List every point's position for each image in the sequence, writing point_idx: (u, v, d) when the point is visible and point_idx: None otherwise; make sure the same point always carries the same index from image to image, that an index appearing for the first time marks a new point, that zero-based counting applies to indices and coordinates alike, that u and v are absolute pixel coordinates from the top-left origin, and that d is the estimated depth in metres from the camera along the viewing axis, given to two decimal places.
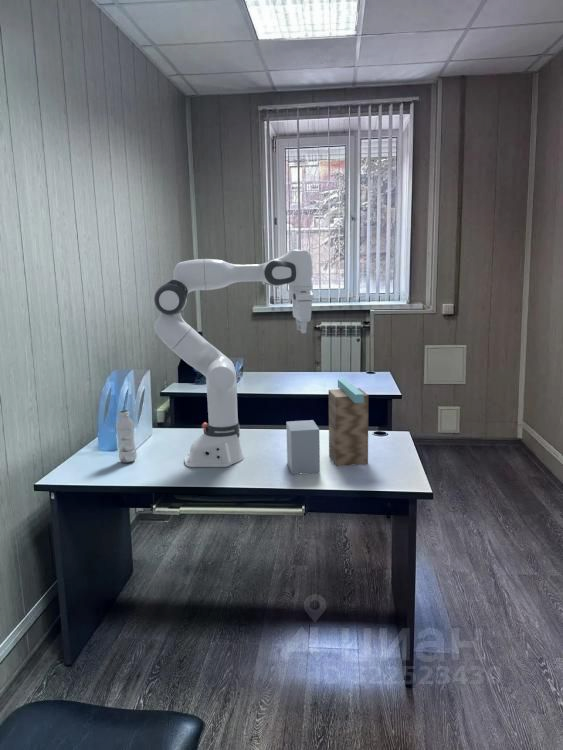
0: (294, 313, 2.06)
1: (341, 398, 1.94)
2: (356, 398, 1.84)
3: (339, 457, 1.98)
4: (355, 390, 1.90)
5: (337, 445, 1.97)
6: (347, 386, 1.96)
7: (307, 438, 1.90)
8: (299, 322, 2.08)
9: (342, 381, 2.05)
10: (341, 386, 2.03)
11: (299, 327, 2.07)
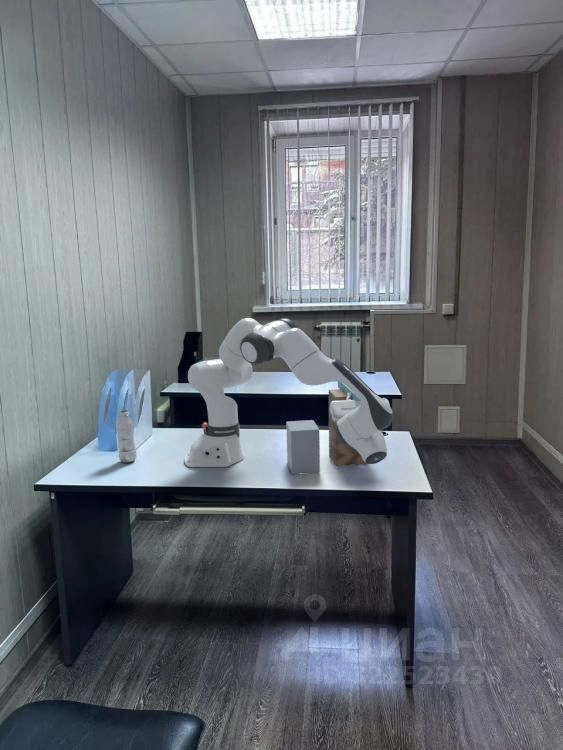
0: None
1: (341, 398, 1.94)
2: (356, 398, 1.84)
3: (339, 457, 1.98)
4: None
5: (337, 445, 1.97)
6: None
7: (307, 438, 1.90)
8: (348, 399, 1.87)
9: None
10: (341, 386, 2.03)
11: None
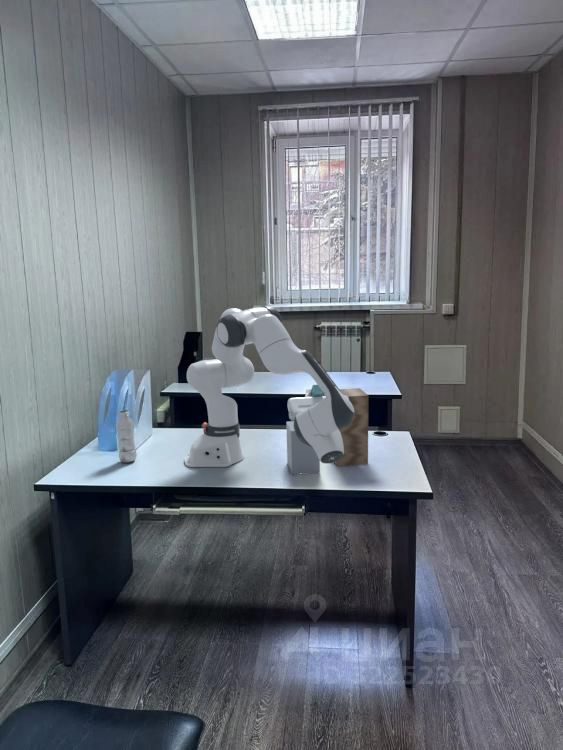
0: None
1: None
2: (314, 388, 1.77)
3: None
4: None
5: None
6: None
7: None
8: (307, 396, 1.80)
9: None
10: None
11: None
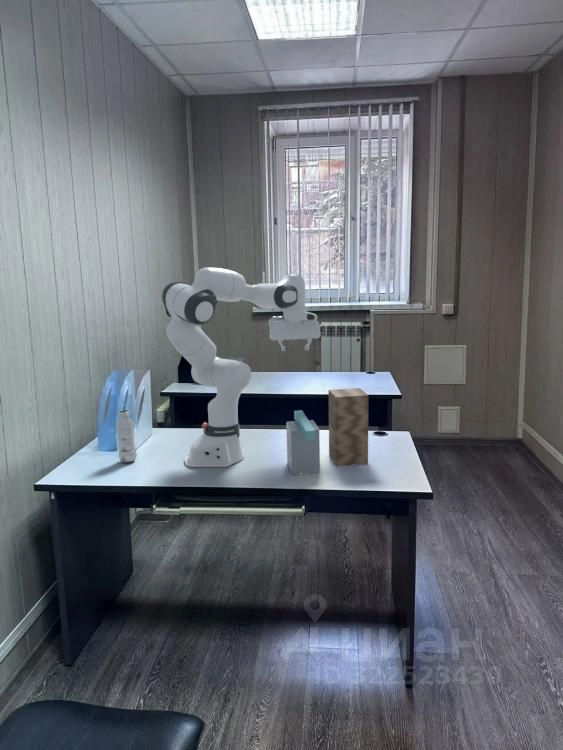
0: (283, 335, 2.13)
1: (341, 398, 1.94)
2: (307, 435, 1.78)
3: (339, 457, 1.98)
4: (307, 425, 1.84)
5: (337, 445, 1.97)
6: (301, 420, 1.90)
7: None
8: (281, 343, 2.16)
9: (298, 413, 1.99)
10: (296, 419, 1.98)
11: None
